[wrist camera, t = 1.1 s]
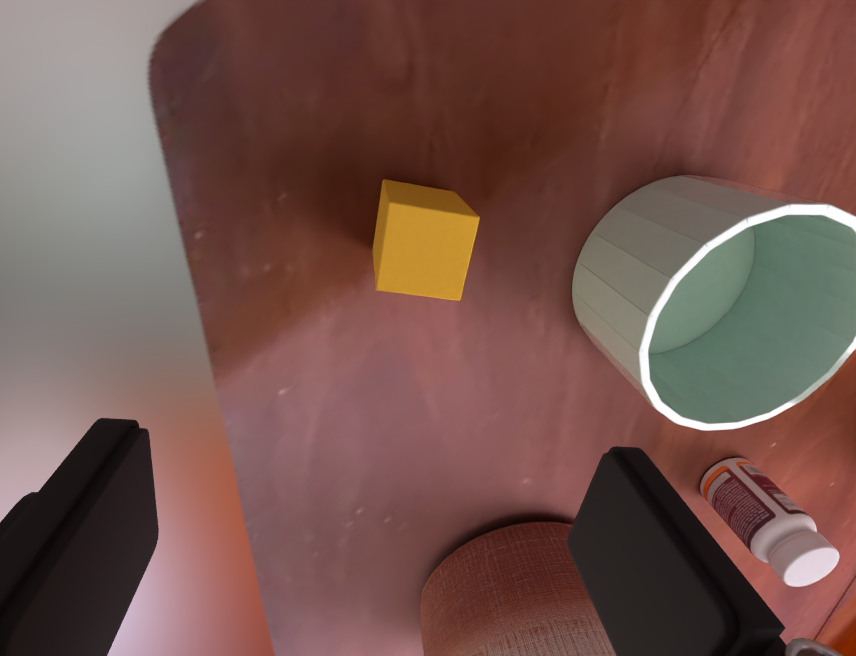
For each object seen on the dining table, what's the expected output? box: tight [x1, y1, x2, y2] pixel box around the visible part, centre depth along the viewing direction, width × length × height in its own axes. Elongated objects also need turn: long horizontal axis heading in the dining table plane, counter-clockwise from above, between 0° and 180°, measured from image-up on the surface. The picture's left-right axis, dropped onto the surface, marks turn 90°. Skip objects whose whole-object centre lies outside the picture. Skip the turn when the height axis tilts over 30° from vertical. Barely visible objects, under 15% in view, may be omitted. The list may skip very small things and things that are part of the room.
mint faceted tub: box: [572, 175, 856, 431], centre depth 26 cm, size 12×12×8 cm
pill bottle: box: [700, 458, 839, 587], centre depth 35 cm, size 5×5×8 cm
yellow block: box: [373, 179, 480, 301], centre depth 23 cm, size 4×4×6 cm
